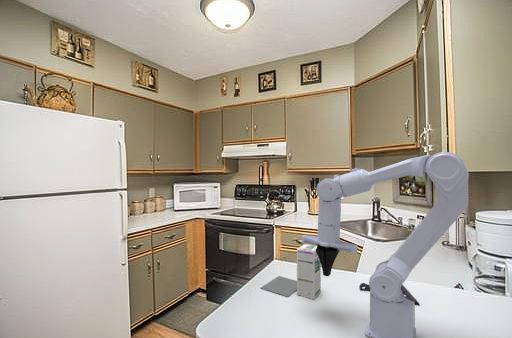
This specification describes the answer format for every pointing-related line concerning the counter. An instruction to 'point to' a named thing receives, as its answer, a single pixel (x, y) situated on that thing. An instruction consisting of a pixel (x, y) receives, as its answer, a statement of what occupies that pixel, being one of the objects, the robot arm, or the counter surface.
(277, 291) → the mat
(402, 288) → the bracket
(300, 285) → the syrup box
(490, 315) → the counter surface
